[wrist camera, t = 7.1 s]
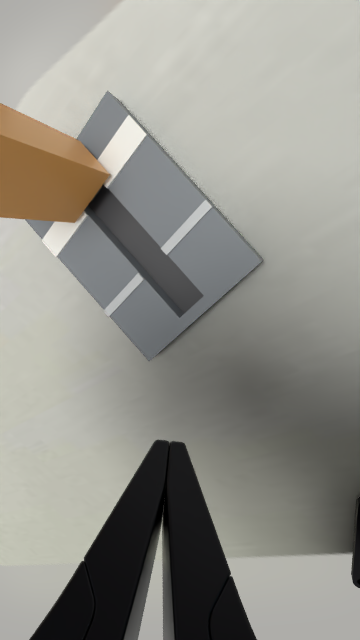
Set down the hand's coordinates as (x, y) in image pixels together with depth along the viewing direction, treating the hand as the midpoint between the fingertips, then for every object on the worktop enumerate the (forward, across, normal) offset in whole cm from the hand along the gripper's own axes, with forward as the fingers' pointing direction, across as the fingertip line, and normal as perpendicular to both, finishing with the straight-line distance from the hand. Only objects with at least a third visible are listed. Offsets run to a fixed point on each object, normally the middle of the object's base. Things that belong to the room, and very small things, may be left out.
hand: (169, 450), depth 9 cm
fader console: (+13, +3, -2) cm, 13 cm away
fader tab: (+14, +6, -5) cm, 16 cm away
